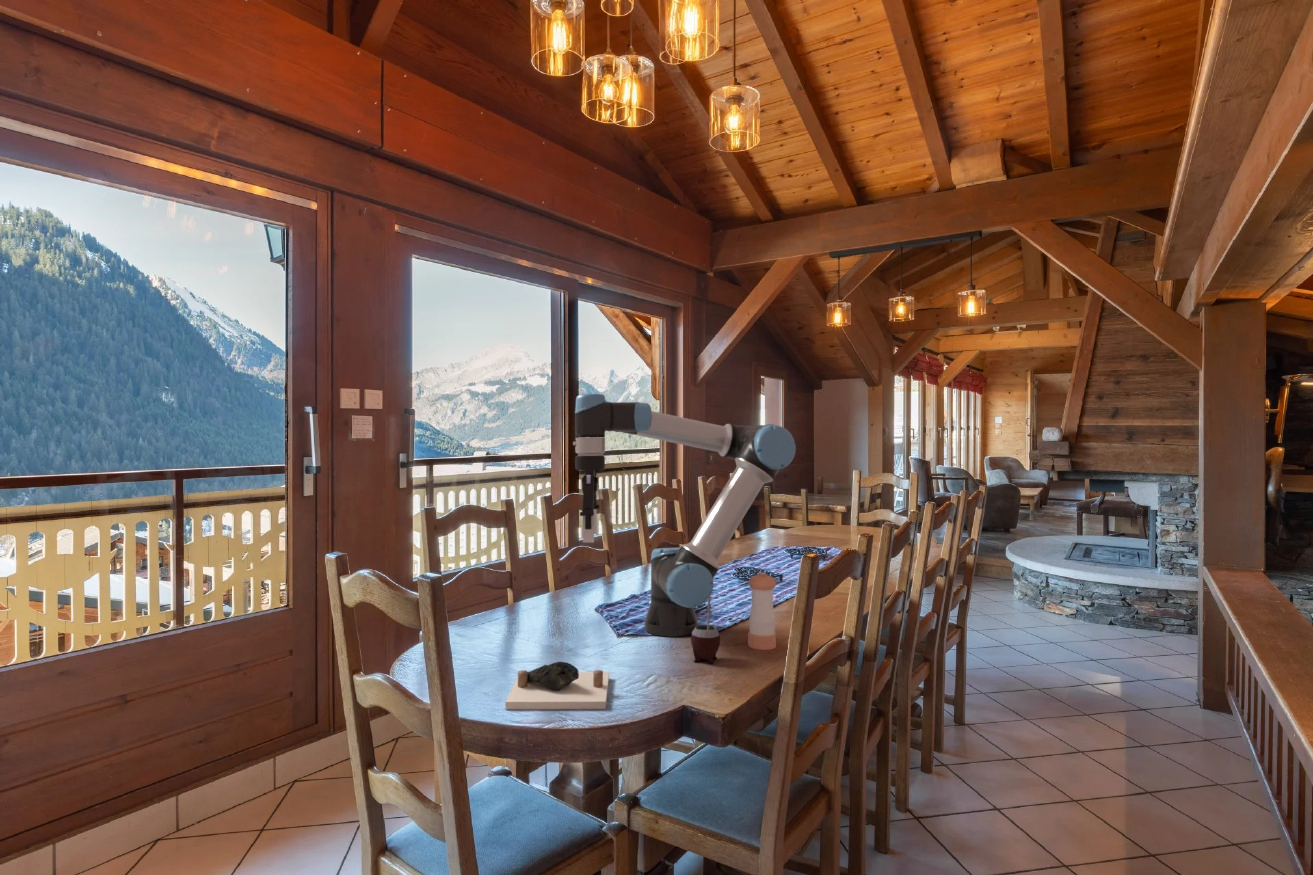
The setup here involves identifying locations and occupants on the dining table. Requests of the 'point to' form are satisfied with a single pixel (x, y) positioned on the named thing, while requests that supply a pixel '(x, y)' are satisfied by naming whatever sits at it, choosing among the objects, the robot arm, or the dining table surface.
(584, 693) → the board
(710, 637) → the mate gourd
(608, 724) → the dining table surface
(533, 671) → the stone
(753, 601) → the pepper shaker
